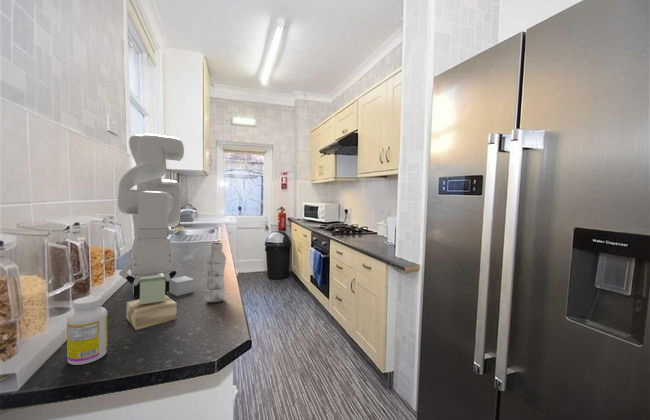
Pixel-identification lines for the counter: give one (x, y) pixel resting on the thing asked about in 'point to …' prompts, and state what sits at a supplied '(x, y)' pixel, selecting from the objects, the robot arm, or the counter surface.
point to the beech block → (150, 312)
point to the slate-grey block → (181, 285)
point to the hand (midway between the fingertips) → (151, 295)
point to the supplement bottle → (86, 331)
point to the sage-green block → (152, 289)
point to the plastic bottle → (215, 274)
